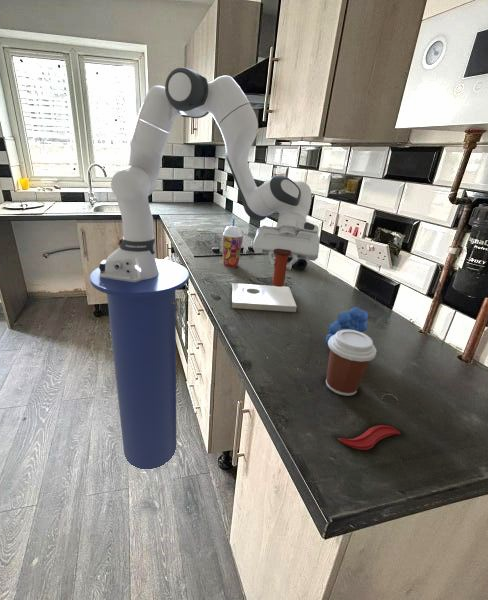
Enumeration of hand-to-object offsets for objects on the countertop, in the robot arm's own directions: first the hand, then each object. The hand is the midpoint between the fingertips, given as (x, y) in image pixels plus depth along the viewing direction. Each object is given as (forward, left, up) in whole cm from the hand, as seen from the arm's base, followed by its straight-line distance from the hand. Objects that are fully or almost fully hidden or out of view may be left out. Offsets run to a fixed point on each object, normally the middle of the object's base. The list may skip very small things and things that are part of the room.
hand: (280, 267), depth 98 cm
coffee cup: (+10, -37, -13) cm, 41 cm away
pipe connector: (+10, +44, -13) cm, 47 cm away
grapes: (+14, -22, -13) cm, 30 cm away
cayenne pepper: (+11, -51, -13) cm, 54 cm away
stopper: (0, +1, -6) cm, 6 cm away
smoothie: (-15, +38, -13) cm, 43 cm away
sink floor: (-4, +5, -13) cm, 15 cm away
